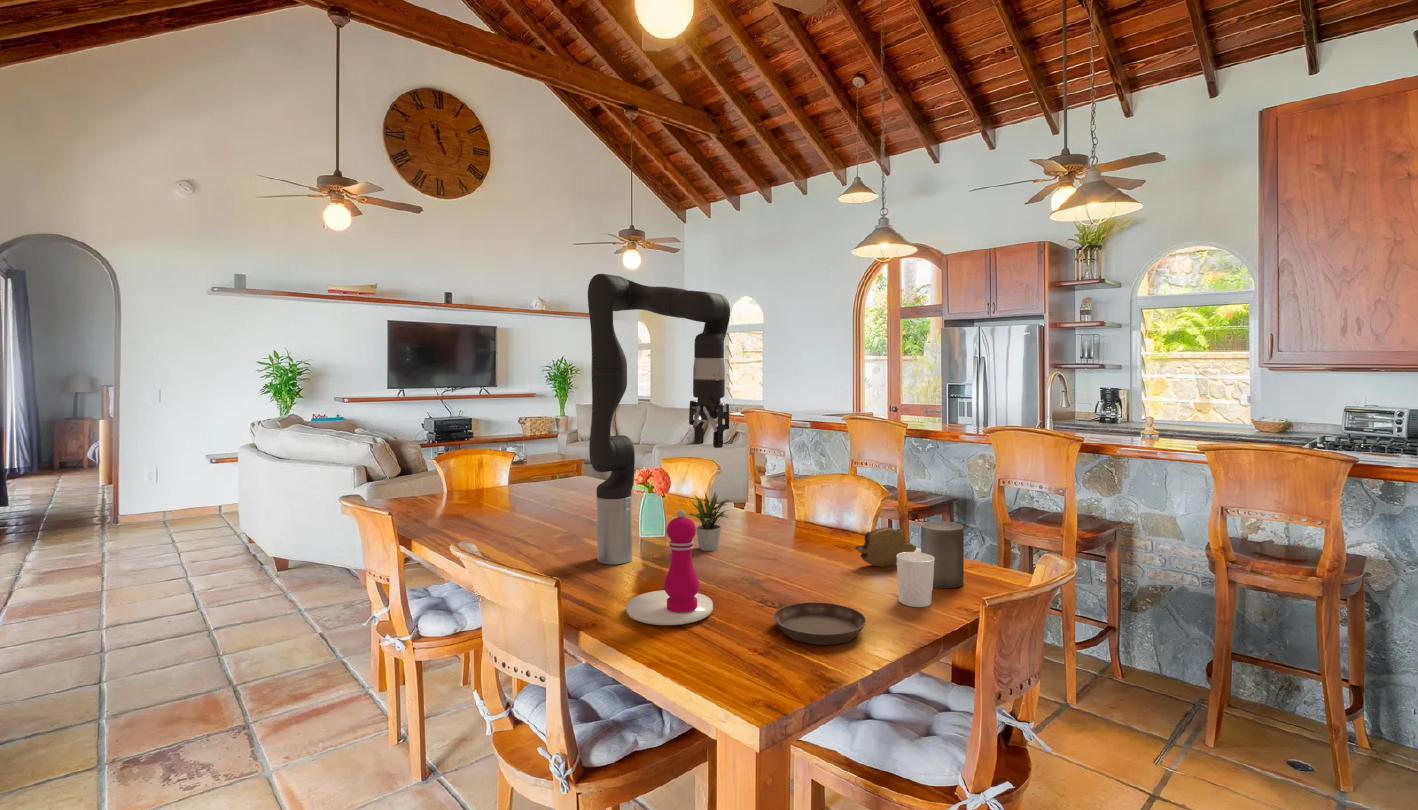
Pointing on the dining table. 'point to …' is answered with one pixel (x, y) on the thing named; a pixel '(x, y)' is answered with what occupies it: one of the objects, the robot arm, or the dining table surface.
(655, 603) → the plate
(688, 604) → the pepper mill
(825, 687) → the dining table surface
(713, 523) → the house plant
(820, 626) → the plant saucer
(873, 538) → the wooden carving
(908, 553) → the white cup
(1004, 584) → the dining table surface
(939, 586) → the pillar candle
